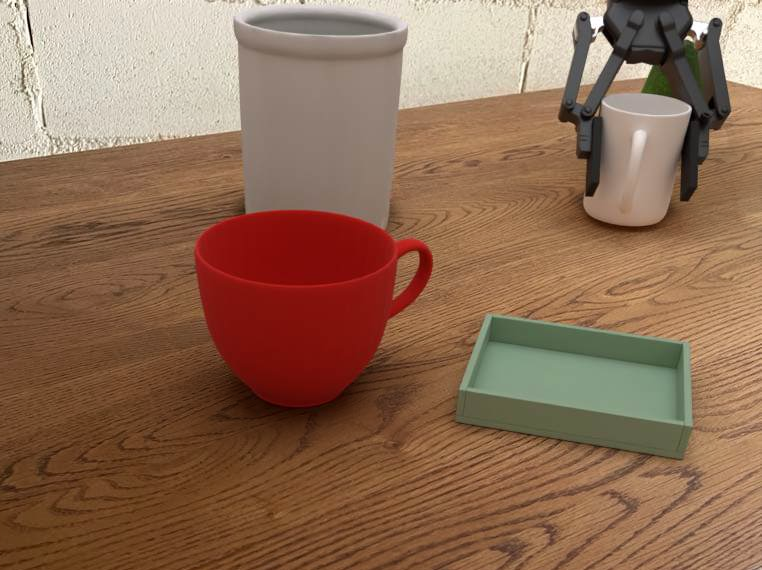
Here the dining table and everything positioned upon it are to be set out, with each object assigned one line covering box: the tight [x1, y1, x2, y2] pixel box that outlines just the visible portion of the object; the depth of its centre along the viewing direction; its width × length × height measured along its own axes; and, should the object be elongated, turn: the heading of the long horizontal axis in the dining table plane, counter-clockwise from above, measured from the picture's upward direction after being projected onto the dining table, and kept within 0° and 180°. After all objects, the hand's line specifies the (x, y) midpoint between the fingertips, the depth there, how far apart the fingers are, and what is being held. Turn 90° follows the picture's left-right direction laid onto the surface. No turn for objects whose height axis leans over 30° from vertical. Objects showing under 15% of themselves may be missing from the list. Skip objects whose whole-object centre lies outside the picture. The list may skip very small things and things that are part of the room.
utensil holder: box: [232, 3, 409, 231], centre depth 84 cm, size 15×15×18 cm
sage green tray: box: [454, 312, 694, 460], centre depth 64 cm, size 15×12×2 cm
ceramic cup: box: [193, 210, 434, 408], centre depth 63 cm, size 13×17×10 cm
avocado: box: [640, 38, 705, 99], centre depth 108 cm, size 8×8×12 cm
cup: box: [582, 92, 692, 227], centre depth 88 cm, size 8×12×10 cm
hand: (640, 192), depth 87 cm, fingers closed on cup, 8 cm apart
